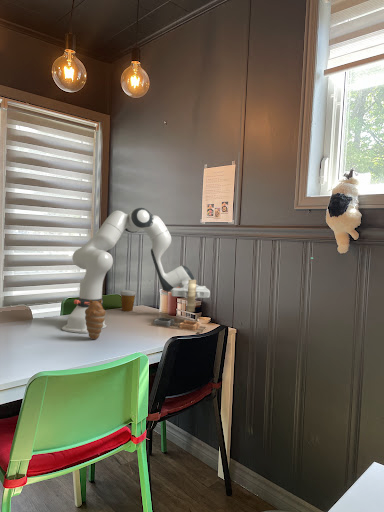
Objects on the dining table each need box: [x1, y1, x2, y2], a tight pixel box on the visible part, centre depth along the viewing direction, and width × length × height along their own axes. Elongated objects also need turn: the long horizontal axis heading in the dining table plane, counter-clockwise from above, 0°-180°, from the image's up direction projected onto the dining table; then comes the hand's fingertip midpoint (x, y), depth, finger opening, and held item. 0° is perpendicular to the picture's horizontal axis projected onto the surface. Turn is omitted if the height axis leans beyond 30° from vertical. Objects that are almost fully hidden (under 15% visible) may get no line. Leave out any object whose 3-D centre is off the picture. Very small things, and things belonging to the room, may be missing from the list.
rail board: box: [147, 316, 207, 335], centre depth 198 cm, size 12×28×4 cm, turn 73°
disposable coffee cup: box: [119, 289, 137, 313], centre depth 234 cm, size 10×10×12 cm
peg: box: [186, 279, 197, 313], centre depth 195 cm, size 4×4×16 cm
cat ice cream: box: [85, 300, 107, 340], centre depth 170 cm, size 9×8×18 cm
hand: (191, 295), depth 194 cm, fingers closed on peg, 4 cm apart
